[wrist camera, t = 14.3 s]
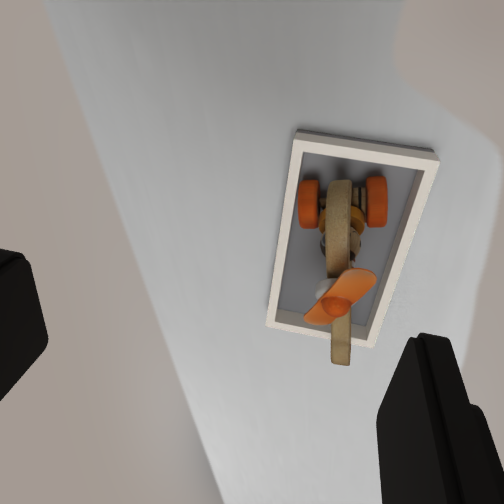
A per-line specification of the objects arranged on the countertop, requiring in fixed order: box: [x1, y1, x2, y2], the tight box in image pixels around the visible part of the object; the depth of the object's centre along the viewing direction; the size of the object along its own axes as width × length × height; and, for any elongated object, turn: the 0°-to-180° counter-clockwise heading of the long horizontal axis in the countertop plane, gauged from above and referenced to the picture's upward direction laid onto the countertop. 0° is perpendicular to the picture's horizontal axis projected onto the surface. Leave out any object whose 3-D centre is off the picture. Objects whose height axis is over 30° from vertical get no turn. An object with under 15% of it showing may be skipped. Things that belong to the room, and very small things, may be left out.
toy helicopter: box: [298, 176, 388, 366], centre depth 39 cm, size 8×21×14 cm, turn 7°
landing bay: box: [266, 129, 440, 348], centre depth 44 cm, size 23×13×4 cm, turn 174°
